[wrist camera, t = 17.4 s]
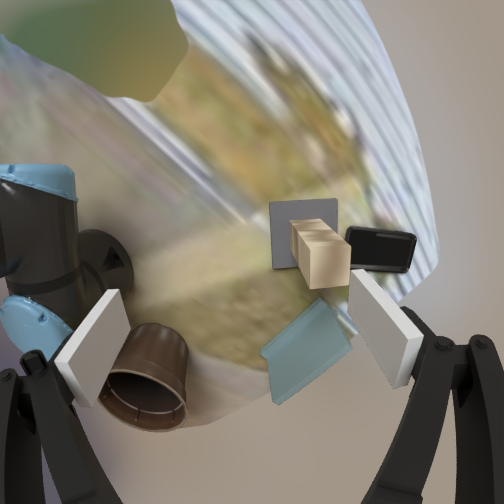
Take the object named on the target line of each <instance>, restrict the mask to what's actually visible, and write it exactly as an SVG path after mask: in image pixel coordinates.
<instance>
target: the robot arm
mask: <svg viewBox="0 0 504 504" xmlns="http://www.w3.org/2000/svg"><path fill="white" fill-rule="evenodd" d="M77 202H78V199H77V197H76V188H75V175H74V172H73V171H72V169H71V168H70V167H68V166H66V165H59V164H0V278H2V277H5V279H6V283H7V288H8V291H9V296H8V297H6V298H5V299H4V300H3V303H2V305H1V309H0V318H1V322H2V325H3V327H4V330H5V331H6V333H7V335H8V336H9V338H10V339H11V340H12V342H13V343H14V344H15V345H16V346H17V347H18V348H19V349H20V350H21V351H22V352H23V353H24V355H23V356H22V357H21V359H20V364H21V366H22V368H23V370H24V372H25V373H26V375H27V376H18V374H17V373H16V371H15V369H12V368H8V369H5V370H3V371H1V372H0V504H46V503H45V495H44V487H43V475H42V460H41V459H42V456H41V444H42V448H43V451H44V454H45V458H46V461H47V464H48V467H49V470H50V473H51V475H52V479H53V481H54V484H55V486H56V489H57V492H58V494H59V497H60V499H61V502H62V504H123V503H122V501H121V500H120V498H119V497H118V495H117V493H116V491H115V490H114V488H113V486H112V485H111V483H110V481H109V480H108V478H107V476H106V474H105V472H104V471H103V469H102V467H101V465H100V463H99V461H98V459H97V457H96V455H95V453H94V451H93V449H92V447H91V445H90V443H89V441H88V439H87V436H86V434H85V432H84V430H83V427H82V425H81V423H80V420H79V418H78V415H77V413H76V410H75V408H74V406H73V405H72V401H73V399H74V398H75V399H76V401H77V403H78V404H79V406H82V407H88V408H93V407H94V405H95V402H96V400H97V398H98V396H99V394H100V391H101V389H102V387H103V385H104V383H105V381H106V378H107V376H108V374H109V372H110V370H111V368H112V366H113V364H114V362H115V360H116V358H117V356H118V354H119V352H120V350H121V348H122V346H123V344H124V342H125V340H126V338H127V336H128V334H129V332H130V330H131V327H130V324H129V321H128V318H127V315H126V311H125V308H124V305H123V300H124V299H125V297H126V296H127V295H128V293H129V291H130V289H131V287H132V283H133V268H132V264H131V261H130V258H129V256H128V254H127V252H126V251H125V249H124V248H123V246H122V245H121V244H120V243H119V242H118V241H117V240H116V239H115V238H114V237H112V236H111V235H109V234H107V233H105V232H103V231H100V230H94V229H89V230H83V231H81V232H79V230H78V216H77ZM347 312H348V314H349V316H350V317H351V319H352V321H353V322H354V324H355V325H356V327H357V329H358V330H359V332H360V334H361V335H362V337H363V338H364V340H365V342H366V344H367V345H368V347H369V349H370V350H371V352H372V353H373V355H374V357H375V359H376V360H377V362H378V364H379V366H380V367H381V369H382V371H383V372H384V374H385V376H386V377H387V379H388V381H389V383H390V385H391V386H392V388H393V389H395V388H398V387H402V386H406V385H408V383H409V380H410V377H411V375H412V376H413V378H414V380H415V383H414V385H413V388H412V391H411V393H410V396H409V400H408V403H407V406H406V409H405V411H404V414H403V417H402V419H401V422H400V424H399V427H398V429H397V432H396V434H395V436H394V439H393V441H392V443H391V446H390V448H389V450H388V452H387V454H386V457H385V459H384V461H383V463H382V465H381V467H380V469H379V471H378V473H377V475H376V477H375V479H374V481H373V482H372V485H371V486H370V488H369V490H368V492H367V494H366V495H365V497H364V499H363V500H362V502H361V504H422V500H423V497H422V496H421V493H422V490H423V487H424V484H425V482H426V479H427V477H428V474H429V471H430V468H431V465H432V462H433V459H434V456H435V452H436V449H437V445H438V442H439V438H440V435H441V431H442V427H443V422H444V418H445V414H446V409H447V405H448V399H449V394H450V390H452V394H453V404H454V414H455V427H456V447H457V474H456V495H455V496H456V497H455V504H504V370H503V367H502V364H501V362H500V359H499V356H498V353H497V351H496V348H495V345H494V343H493V342H492V340H491V339H490V338H488V337H487V336H485V335H479V334H478V335H474V336H472V337H471V338H470V340H469V344H468V345H455V343H454V342H453V341H452V340H451V339H449V338H447V337H444V336H436V335H435V334H434V333H433V332H432V331H431V330H430V328H429V327H428V326H427V325H426V324H425V323H424V322H423V321H422V320H421V319H420V318H418V316H417V314H416V313H415V312H414V311H412V310H411V309H409V308H407V307H405V306H403V307H398V306H397V305H396V303H395V302H394V301H393V300H392V299H391V298H390V297H389V296H388V295H387V294H386V293H385V291H384V290H383V289H382V288H381V287H380V286H379V285H378V284H377V283H376V282H375V281H374V280H373V279H372V278H371V277H370V276H369V274H368V273H367V272H366V271H365V270H364V269H358V270H351V276H350V289H349V301H348V311H347Z"/></svg>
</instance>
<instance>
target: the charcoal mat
mask: <svg viewBox="0 0 504 504" xmlns="http://www.w3.org/2000/svg"><path fill="white" fill-rule="evenodd" d="M269 209H270V227H271V246H272V267H273V269H277V268H288V267H299V266H298V264H297V262H296V260H295V258H294V256H293V254H292V252H291V249H290V220H305V219H321V220H322V221H323V222H324V223H326V224H327V225H328V226H329V227H330V228H331V229H332V230H333V231H335V232H336V233H337V214H338V201H337V199H336V198H334V199H312V200H294V201H278V202H269Z"/></svg>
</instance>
